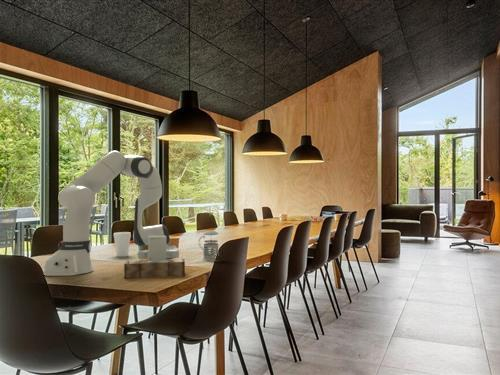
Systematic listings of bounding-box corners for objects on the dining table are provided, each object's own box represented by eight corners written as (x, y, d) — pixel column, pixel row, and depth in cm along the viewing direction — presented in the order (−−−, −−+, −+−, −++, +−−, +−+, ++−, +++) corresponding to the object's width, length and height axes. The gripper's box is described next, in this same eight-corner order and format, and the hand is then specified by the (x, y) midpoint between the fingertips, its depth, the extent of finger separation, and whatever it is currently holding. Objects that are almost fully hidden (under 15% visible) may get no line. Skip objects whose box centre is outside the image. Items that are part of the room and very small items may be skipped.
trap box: (124, 278, 178) (124, 262, 178) (126, 274, 186) (126, 259, 186) (184, 275, 182) (184, 260, 182) (184, 272, 190) (184, 257, 190)
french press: (217, 260, 221) (217, 212, 221) (196, 260, 223) (195, 212, 223) (222, 257, 231) (222, 211, 231) (202, 257, 233) (201, 211, 233)
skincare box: (148, 271, 194) (148, 236, 194) (147, 268, 200) (147, 235, 200) (166, 270, 196) (166, 236, 196) (165, 267, 202) (165, 234, 202)
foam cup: (121, 257, 235) (121, 233, 235) (110, 256, 240) (110, 233, 240) (134, 255, 243) (134, 232, 244) (123, 254, 248) (123, 231, 248)
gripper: (138, 246, 217) (135, 250, 204) (179, 245, 221) (178, 249, 207) (138, 259, 217) (135, 263, 204) (179, 257, 221) (179, 262, 207)
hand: (157, 256), depth 205 cm, fingers closed
